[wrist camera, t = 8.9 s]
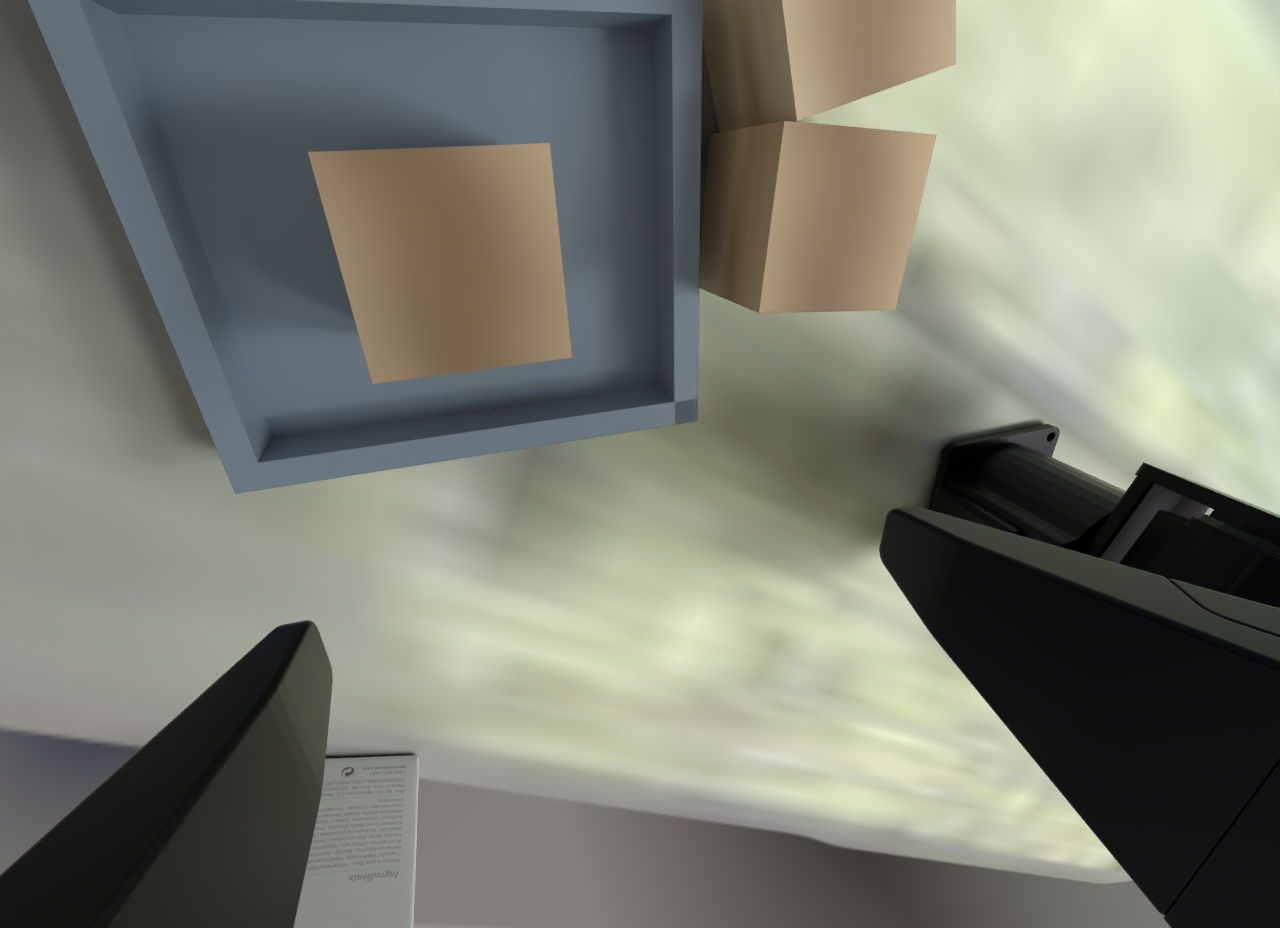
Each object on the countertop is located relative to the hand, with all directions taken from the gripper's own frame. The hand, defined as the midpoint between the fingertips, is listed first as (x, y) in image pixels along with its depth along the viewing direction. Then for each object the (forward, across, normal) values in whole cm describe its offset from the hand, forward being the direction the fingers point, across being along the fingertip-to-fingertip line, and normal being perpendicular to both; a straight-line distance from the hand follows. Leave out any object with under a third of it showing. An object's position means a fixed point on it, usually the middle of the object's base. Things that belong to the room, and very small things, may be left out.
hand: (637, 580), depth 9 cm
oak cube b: (+12, -8, -4) cm, 15 cm away
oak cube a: (+11, +2, -4) cm, 12 cm away
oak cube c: (+12, -8, -10) cm, 17 cm away
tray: (+12, +2, -4) cm, 12 cm away
